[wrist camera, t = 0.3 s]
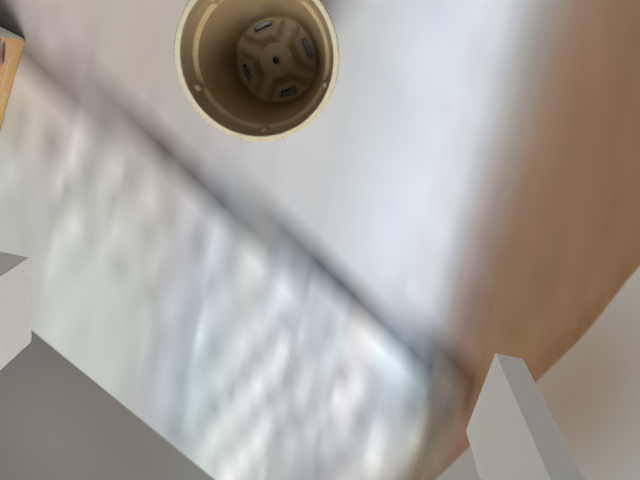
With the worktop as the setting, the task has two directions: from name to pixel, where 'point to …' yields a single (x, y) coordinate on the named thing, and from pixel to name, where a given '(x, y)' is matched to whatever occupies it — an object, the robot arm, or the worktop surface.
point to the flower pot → (256, 64)
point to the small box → (8, 64)
